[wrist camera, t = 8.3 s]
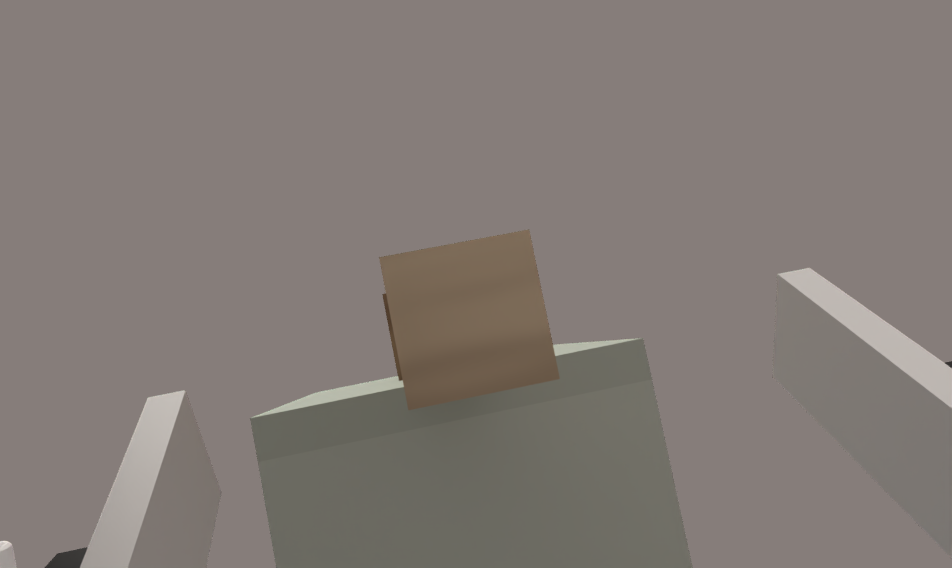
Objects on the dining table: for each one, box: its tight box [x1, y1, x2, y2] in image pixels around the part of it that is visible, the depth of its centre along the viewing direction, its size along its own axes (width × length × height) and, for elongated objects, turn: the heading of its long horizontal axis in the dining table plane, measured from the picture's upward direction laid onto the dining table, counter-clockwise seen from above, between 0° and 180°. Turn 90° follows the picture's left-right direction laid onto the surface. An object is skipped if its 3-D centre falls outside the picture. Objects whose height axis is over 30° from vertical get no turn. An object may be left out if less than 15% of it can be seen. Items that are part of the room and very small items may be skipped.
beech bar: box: [379, 230, 560, 410], centre depth 27 cm, size 24×4×4 cm, turn 5°
